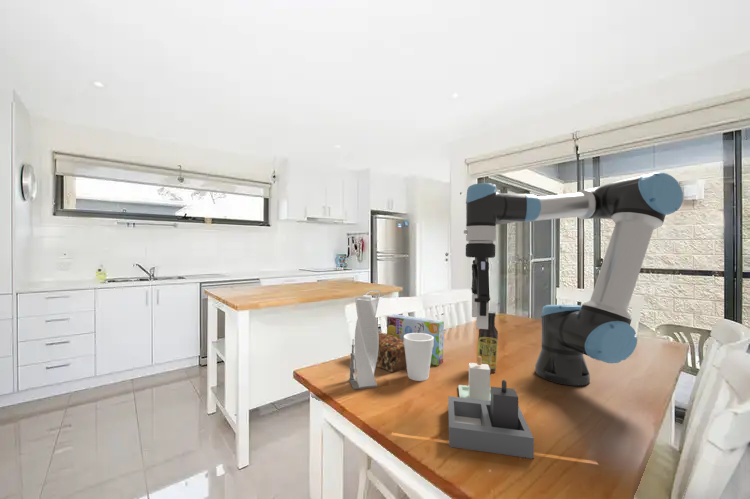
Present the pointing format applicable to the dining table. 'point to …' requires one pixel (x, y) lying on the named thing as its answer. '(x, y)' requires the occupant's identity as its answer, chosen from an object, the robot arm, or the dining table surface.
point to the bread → (391, 353)
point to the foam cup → (418, 355)
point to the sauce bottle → (488, 343)
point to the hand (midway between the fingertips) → (479, 322)
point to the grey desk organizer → (490, 424)
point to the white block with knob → (479, 380)
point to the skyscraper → (365, 343)
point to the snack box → (408, 324)
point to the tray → (466, 391)
